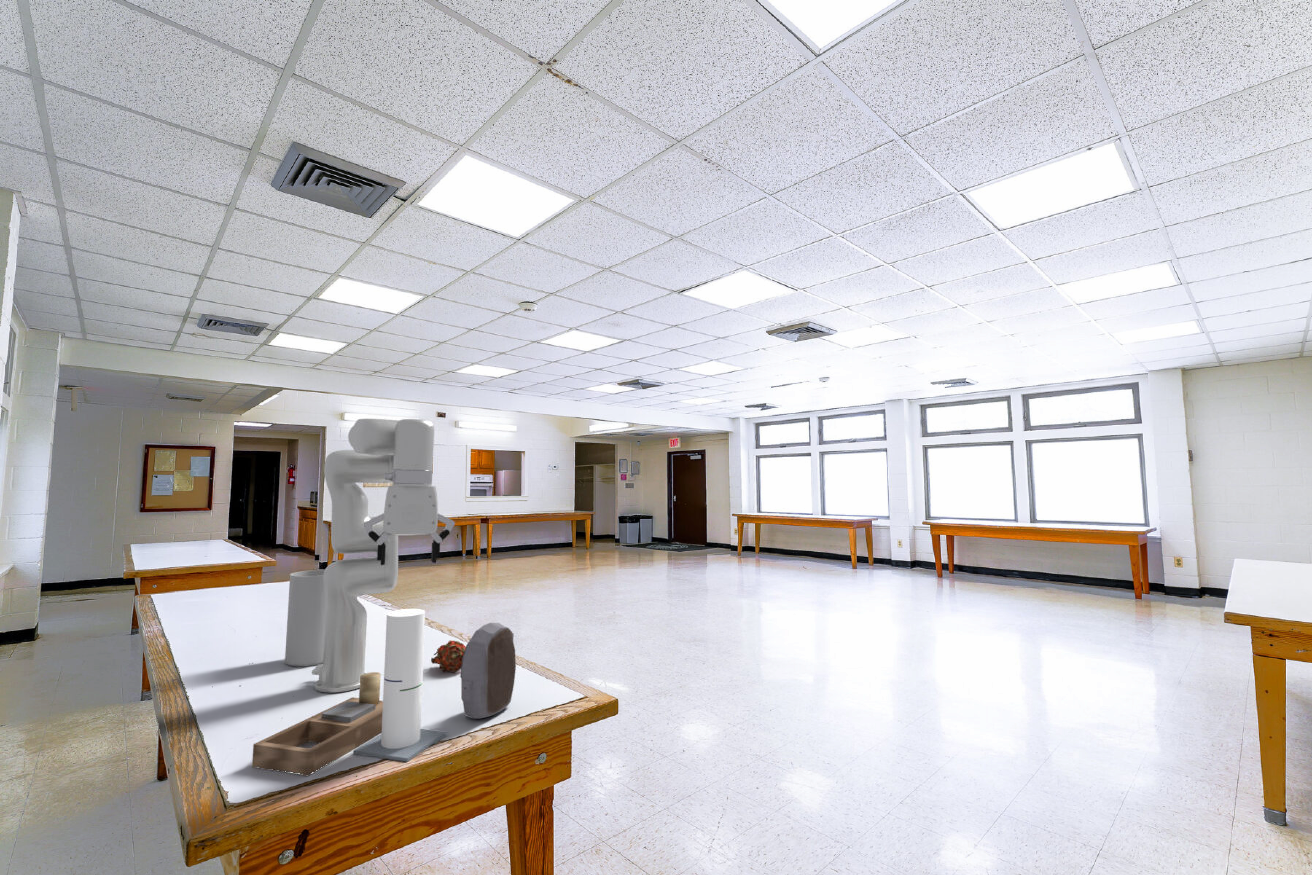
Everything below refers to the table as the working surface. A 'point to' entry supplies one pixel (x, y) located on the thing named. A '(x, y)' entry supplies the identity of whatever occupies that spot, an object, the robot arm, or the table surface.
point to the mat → (400, 754)
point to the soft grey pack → (488, 671)
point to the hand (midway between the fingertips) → (408, 563)
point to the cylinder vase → (306, 619)
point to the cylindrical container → (403, 678)
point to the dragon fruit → (449, 656)
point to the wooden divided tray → (325, 733)
